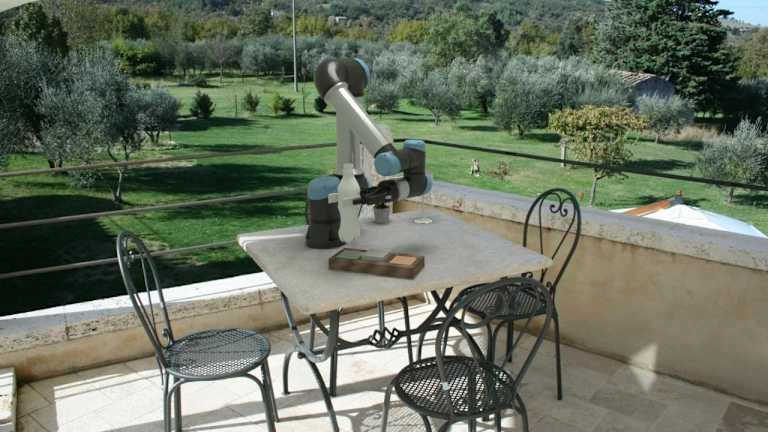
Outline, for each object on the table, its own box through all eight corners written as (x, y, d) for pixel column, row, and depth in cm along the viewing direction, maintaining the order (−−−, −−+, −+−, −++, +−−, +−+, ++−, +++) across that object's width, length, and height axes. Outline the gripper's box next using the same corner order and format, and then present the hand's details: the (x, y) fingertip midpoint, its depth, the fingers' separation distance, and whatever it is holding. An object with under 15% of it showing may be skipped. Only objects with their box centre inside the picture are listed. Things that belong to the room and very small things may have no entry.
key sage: (336, 265, 197) (335, 256, 197) (345, 258, 204) (345, 250, 203) (356, 267, 195) (356, 259, 194) (365, 260, 201) (365, 252, 201)
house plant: (354, 222, 248) (352, 183, 244) (376, 215, 258) (375, 177, 254) (381, 228, 239) (380, 187, 235) (403, 220, 250) (402, 181, 245)
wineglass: (435, 218, 251) (435, 170, 246) (429, 224, 243) (429, 175, 238) (416, 217, 254) (416, 169, 248) (410, 223, 246) (410, 174, 241)
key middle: (361, 263, 194) (361, 255, 193) (370, 256, 200) (370, 248, 200) (383, 265, 191) (383, 257, 191) (391, 258, 198) (391, 250, 197)
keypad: (328, 269, 196) (328, 258, 195) (344, 257, 207) (343, 247, 206) (412, 279, 186) (412, 268, 185) (424, 266, 197) (424, 255, 196)
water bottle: (362, 237, 201) (361, 162, 194) (359, 244, 194) (358, 166, 187) (340, 237, 201) (338, 161, 194) (336, 244, 194) (335, 166, 188)
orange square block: (388, 271, 191) (388, 262, 190) (396, 263, 198) (396, 255, 197) (410, 273, 189) (410, 265, 188) (417, 266, 195) (417, 257, 194)
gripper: (412, 206, 198) (355, 219, 184) (373, 195, 213) (318, 206, 199) (412, 184, 196) (354, 195, 182) (373, 174, 211) (317, 183, 197)
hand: (336, 201), depth 191 cm, fingers closed on water bottle, 7 cm apart
